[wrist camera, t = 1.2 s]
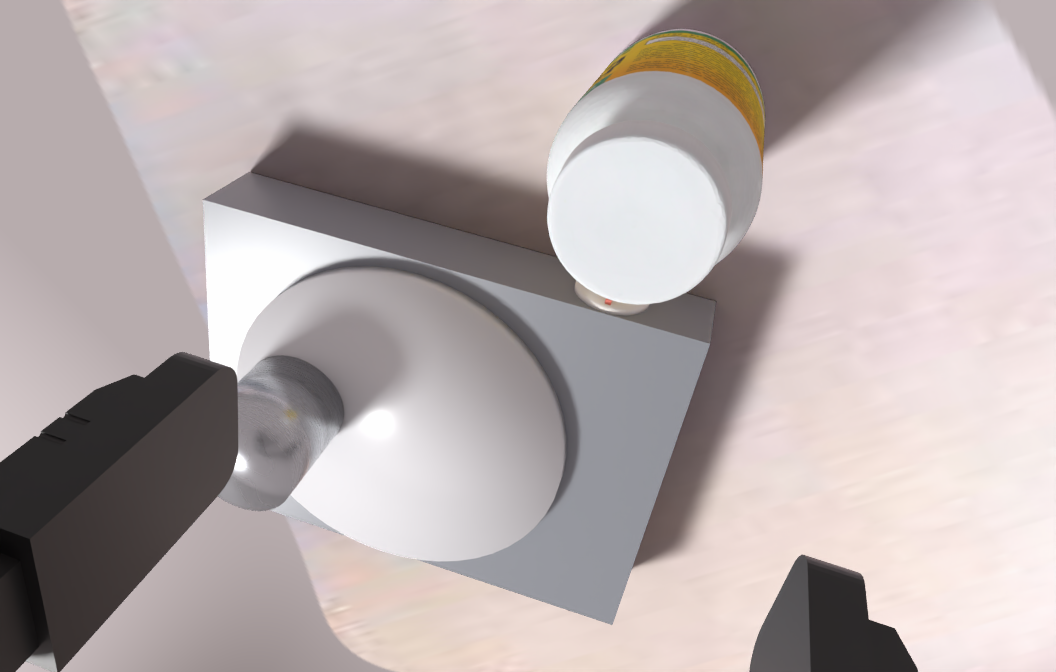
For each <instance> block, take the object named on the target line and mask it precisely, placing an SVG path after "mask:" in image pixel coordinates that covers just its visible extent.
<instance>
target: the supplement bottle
mask: <svg viewBox="0 0 1056 672" xmlns="http://www.w3.org/2000/svg"><path fill="white" fill-rule="evenodd" d="M764 130H765V107H764V100H763V95H762V91H761V88H760V85H759V83H758V80H757V78H756V76H755V74H754V72H753V70H752V68H751V67H750V65H749V64H748V62H747V61H746V60H745V59H744V58H743V56H742V55H741V54H740V53H739V52H738V51H737V50H736V49H735V48H733V47H732V46H731V45H730V44H728V43H727V42H725V41H723V40H722V39H720V38H717V37H715V36H713V35H711V34H708V33H705V32H701V31H697V30H692V29H671V30H666V31H661V32H658V33H655V34H652V35H649V36H647V37H645V38H643V39H641V40H639V41H637V42H635V43H634V44H632V45H630V46H629V47H628V48H626V49H625V50H624V51H622V52H621V53H620V54H619V55H618V56H617V57H616V58H615V59H614V60H613V61H612V62H611V63H610V64H609V66H608V67H607V68H606V69H605V71H604V72H603V73H602V74H601V75H600V77H599V78H598V79H597V80H596V81H595V82H594V84H593V85H592V86H591V87H590V88H589V90H588V91H587V92H586V93H585V94H584V96H583V97H582V98H581V99H580V100H579V101H578V103H577V104H576V105H575V106H574V107H573V108H572V110H571V111H570V112H569V113H568V115H567V116H566V118H565V119H564V121H563V123H562V124H561V126H560V128H559V130H558V132H557V134H556V136H555V138H554V141H553V144H552V147H551V150H550V154H549V159H548V165H547V190H548V196H549V202H548V211H547V223H548V230H549V236H550V239H551V242H552V245H553V248H554V250H555V252H556V255H557V257H558V258H559V260H560V262H561V263H562V265H563V266H564V267H565V269H566V270H567V271H568V272H569V273H570V274H571V276H572V277H573V278H574V279H576V280H577V281H578V282H579V283H580V284H582V285H583V286H584V287H586V288H587V289H589V290H591V291H592V292H594V293H596V294H598V295H600V296H602V297H605V298H607V299H610V300H613V301H617V302H621V303H627V304H636V305H640V304H653V303H660V302H664V301H668V300H670V299H673V298H676V297H678V296H680V295H682V294H684V293H686V292H688V291H689V290H691V289H692V288H694V287H695V286H696V285H697V284H699V283H700V282H701V281H702V280H703V279H704V278H705V277H706V276H707V275H708V274H709V272H710V271H711V270H712V269H713V267H714V266H715V265H716V264H717V263H719V262H720V261H721V260H722V259H724V258H725V257H726V256H727V255H728V254H729V253H730V252H731V251H732V250H733V249H734V248H735V247H736V246H737V245H738V244H739V243H740V241H741V240H742V238H743V237H744V236H745V234H746V232H747V231H748V229H749V227H750V225H751V223H752V221H753V219H754V217H755V214H756V211H757V208H758V205H759V201H760V196H761V190H762V179H763V149H764Z"/></svg>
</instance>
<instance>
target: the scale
mask: <svg viewBox="0 0 1056 672" xmlns="http://www.w3.org/2000/svg"><path fill="white" fill-rule="evenodd" d="M203 214H204V237H205V259H206V282H207V304H208V327H209V348H210V361H213V362H216V363H219V364H222V365H225V366H228V367H231V368H233V369H234V370H235V372H236V375H237V382H239V381H240V380H241V379H242V378H243V377H244V376H245V375H246V374H247V373H248V372H249V371H250V370H251V369H252V368H253V367H254V366H255V365H256V364H257V363H258V362H260V361H261V360H263V359H265V358H267V357H271V356H277V355H285V356H292V357H296V358H299V359H302V360H304V361H306V362H308V363H310V364H312V365H313V366H315V367H317V368H318V369H319V370H321V371H322V372H323V373H324V374H325V375H326V376H327V377H328V378H329V379H330V380H331V381H332V383H333V384H334V385H335V387H336V388H337V390H338V392H339V394H340V396H341V398H342V402H343V405H344V421H343V424H342V427H341V429H340V430H339V432H338V433H337V434H336V436H335V437H334V438H333V440H332V441H331V442H330V443H329V445H328V446H327V447H326V449H325V450H324V451H323V453H322V454H321V455H320V457H319V458H318V459H317V460H316V462H315V463H314V464H313V466H312V467H311V468H310V470H309V471H308V472H307V473H306V475H305V476H304V477H303V479H302V480H301V481H300V483H299V484H298V485H297V487H296V488H295V489H294V490H293V492H292V493H291V494H290V496H289V497H288V498H287V500H286V501H285V502H284V503H283V504H281V505H280V506H278V507H277V508H274V509H271V510H270V511H273V512H276V513H279V514H282V515H285V516H288V517H291V518H294V519H297V520H300V521H303V522H306V523H309V524H312V525H315V526H318V527H321V528H324V529H327V530H330V531H333V532H336V533H339V534H342V535H345V536H347V537H349V538H351V539H353V540H355V541H357V542H359V543H362V544H364V545H367V546H369V547H372V548H374V549H377V550H380V551H383V552H386V553H390V554H393V555H397V556H400V557H406V558H411V559H417V560H420V561H423V562H426V563H429V564H432V565H435V566H438V567H440V568H443V569H446V570H449V571H452V572H455V573H458V574H461V575H464V576H467V577H470V578H473V579H476V580H479V581H482V582H485V583H488V584H491V585H494V586H497V587H500V588H503V589H506V590H509V591H512V592H515V593H518V594H521V595H524V596H527V597H530V598H533V599H536V600H539V601H542V602H545V603H548V604H551V605H554V606H557V607H560V608H563V609H566V610H569V611H572V612H575V613H578V614H581V615H584V616H587V617H590V618H593V619H596V620H599V621H602V622H605V623H608V624H611V625H612V624H613V621H614V619H615V616H616V613H617V610H618V607H619V604H620V601H621V598H622V596H623V593H624V590H625V587H626V584H627V581H628V578H629V575H630V573H631V570H632V567H633V564H634V561H635V558H636V555H637V553H638V550H639V547H640V544H641V541H642V538H643V535H644V532H645V530H646V527H647V524H648V521H649V518H650V515H651V512H652V510H653V507H654V504H655V501H656V498H657V495H658V492H659V489H660V487H661V484H662V481H663V478H664V475H665V472H666V469H667V466H668V464H669V461H670V458H671V455H672V452H673V449H674V446H675V444H676V441H677V438H678V435H679V432H680V429H681V426H682V423H683V421H684V418H685V415H686V412H687V409H688V406H689V403H690V401H691V398H692V395H693V392H694V389H695V386H696V383H697V380H698V378H699V375H700V372H701V369H702V366H703V363H704V360H705V357H706V355H707V352H708V349H709V346H710V342H711V335H712V328H713V321H714V314H715V307H716V301H713V300H709V299H705V298H702V297H698V296H695V295H691V294H687V293H684V294H682V295H680V296H678V297H676V298H673V299H670V300H668V301H664V302H660V303H653V304H640V305H636V304H627V303H621V302H617V301H613V300H610V299H607V298H605V297H602V296H600V295H598V294H596V293H594V292H592V291H591V290H589V289H587V288H586V287H584V286H583V285H582V284H580V283H579V282H578V281H577V280H576V279H574V278H573V277H572V276H571V274H570V273H569V272H568V271H567V270H566V269H565V267H564V266H563V265H562V263H561V262H560V260H559V258H558V257H554V256H550V255H547V254H543V253H540V252H536V251H532V250H529V249H525V248H521V247H518V246H514V245H511V244H507V243H503V242H500V241H496V240H493V239H489V238H485V237H482V236H478V235H475V234H471V233H467V232H464V231H460V230H457V229H453V228H449V227H446V226H442V225H438V224H435V223H431V222H428V221H424V220H420V219H417V218H413V217H410V216H406V215H402V214H399V213H395V212H392V211H388V210H384V209H381V208H377V207H374V206H370V205H366V204H363V203H359V202H356V201H352V200H348V199H345V198H341V197H337V196H334V195H330V194H327V193H323V192H319V191H316V190H312V189H309V188H305V187H301V186H298V185H294V184H291V183H287V182H283V181H280V180H276V179H273V178H269V177H265V176H262V175H258V174H255V173H251V172H248V173H247V174H245V175H243V176H242V177H240V178H238V179H237V180H235V181H233V182H232V183H230V184H228V185H227V186H225V187H223V188H222V189H220V190H218V191H216V192H215V193H213V194H211V195H210V196H208V197H206V198H205V199H203Z"/></svg>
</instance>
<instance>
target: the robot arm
mask: <svg viewBox="0 0 1056 672" xmlns="http://www.w3.org/2000/svg"><path fill="white" fill-rule="evenodd" d="M237 457H238V382H237V375H236V372H235V370H234V369H233V368H231V367H228V366H225V365H222V364H219V363H216V362H213V361H210V360H207V359H204V358H200V357H197V356H194V355H191V354H188V353H185V352H180V353H177V354H174V355H173V356H171V357H170V358H169V359H167V360H166V361H165V362H164V363H162V364H161V365H160V366H159V367H157V368H156V369H155V370H154V371H152V372H151V373H150V374H149V375H148V376H146V377H145V378H143V377H140V376H137V375H131V376H129V377H127V378H124V379H121V380H119V381H117V382H114V383H111V384H109V385H106V386H104V387H101V388H99V389H96V390H94V391H93V392H92V393H90V394H89V395H88V396H87V397H85V398H84V399H83V400H81V401H80V402H79V403H77V404H76V405H75V406H73V407H72V408H71V409H69V410H68V411H67V412H66V414H65V416H64V418H61V417H59V418H58V419H57V420H55V421H54V422H53V423H51V424H50V425H49V426H48V427H46V428H45V429H43V430H42V431H41V434H40V436H39V437H36V436H34V437H33V438H32V439H30V440H29V441H28V442H26V443H25V444H24V445H22V446H21V447H20V448H18V449H17V450H16V451H15V452H13V453H12V454H11V455H9V456H8V457H7V458H6V459H4V460H3V461H2V462H0V672H16V670H17V669H18V668H19V667H20V666H21V665H22V664H23V663H24V662H25V661H26V662H28V663H31V664H33V665H36V666H39V667H41V668H44V669H46V670H49V671H51V672H60V671H61V670H62V669H63V668H64V667H65V665H66V664H67V663H68V662H69V661H70V660H71V659H72V657H74V656H75V654H76V653H77V652H78V651H79V650H80V649H81V648H82V647H83V645H84V644H85V643H86V642H87V641H88V640H89V639H90V638H91V637H92V635H93V634H94V633H95V632H96V631H97V630H98V629H99V628H100V627H101V625H102V624H103V623H104V622H105V621H106V620H107V619H108V618H109V616H110V615H111V614H112V613H113V612H114V611H115V610H116V609H117V608H118V606H119V605H120V604H121V603H122V602H123V601H124V600H125V599H126V598H127V596H128V595H129V594H130V593H131V592H132V591H133V590H134V589H135V588H136V586H137V585H138V584H139V583H140V582H141V581H142V580H143V579H144V578H145V576H146V575H147V574H148V573H149V572H150V571H151V570H152V568H153V567H154V566H155V565H156V564H157V563H158V562H159V560H161V559H162V557H163V556H164V555H165V554H166V553H167V552H168V551H169V550H170V548H171V547H172V546H173V545H174V544H175V543H176V542H177V541H178V540H179V538H180V537H181V536H182V535H183V534H184V533H185V532H186V531H187V530H188V528H189V527H190V526H191V525H192V524H193V523H194V522H195V520H196V519H197V518H198V517H199V516H200V515H201V514H202V513H203V512H204V511H205V509H206V508H207V507H208V506H209V505H210V504H211V503H212V502H213V501H214V499H215V498H216V497H217V496H218V495H219V494H220V493H221V491H222V490H223V489H224V487H225V486H226V484H227V483H228V481H229V479H230V477H231V475H232V473H233V470H234V468H235V465H236V461H237ZM749 672H918V670H917V667H916V665H915V664H914V662H913V660H912V658H911V656H910V655H909V653H908V651H907V649H906V648H905V646H904V644H903V642H902V640H901V639H900V637H899V635H898V633H897V632H896V630H895V628H892V627H889V626H886V625H883V624H880V623H877V622H874V621H871V620H869V619H868V609H867V600H866V591H865V583H864V579H863V576H862V575H861V574H860V573H858V572H855V571H852V570H849V569H846V568H842V567H839V566H836V565H833V564H830V563H827V562H824V561H821V560H818V559H815V558H812V557H809V556H805V555H801V556H799V557H798V558H797V560H796V561H795V563H794V565H793V566H792V568H791V570H790V572H789V574H788V576H787V578H786V580H785V582H784V584H783V586H782V588H781V590H780V592H779V594H778V596H777V598H776V600H775V602H774V604H773V606H772V608H771V610H770V611H769V613H768V615H767V617H766V619H765V621H764V623H763V625H762V627H761V629H760V632H759V634H758V637H757V640H756V643H755V646H754V650H753V654H752V659H751V664H750V671H749Z"/></svg>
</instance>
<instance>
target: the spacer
mask: <svg viewBox="0 0 1056 672" xmlns="http://www.w3.org/2000/svg"><path fill="white" fill-rule="evenodd" d="M343 421H344V405H343V402H342V398H341V396H340V394H339V392H338V390H337V388H336V387H335V385H334V384H333V383H332V381H331V380H330V379H329V378H328V377H327V376H326V375H325V374H324V373H323V372H322V371H321V370H319V369H318V368H317V367H315V366H313V365H312V364H310V363H308V362H306V361H304V360H302V359H299V358H296V357H292V356H285V355H277V356H271V357H267V358H265V359H263V360H261V361H260V362H258V363H257V364H256V365H255V366H254V367H253V368H252V369H251V370H250V371H249V372H248V373H247V374H246V375H245V376H244V377H243V378H242V379H241V380H240V381H239V382H238V457H237V461H236V465H235V468H234V470H233V473H232V475H231V477H230V479H229V481H228V483H227V484H226V486H225V487H224V489H223V490H222V491H221V493H220V494H219V495H218V497H219V498H221V499H222V500H224V501H226V502H228V503H230V504H232V505H234V506H237V507H240V508H243V509H247V510H252V511H266V510H271V509H274V508H277V507H278V506H280V505H281V504H283V503H284V502H285V501H286V500H287V498H288V497H289V496H290V494H291V493H292V492H293V490H294V489H295V488H296V487H297V485H298V484H299V483H300V481H301V480H302V479H303V477H304V476H305V475H306V473H307V472H308V471H309V470H310V468H311V467H312V466H313V464H314V463H315V462H316V460H317V459H318V458H319V457H320V455H321V454H322V453H323V451H324V450H325V449H326V447H327V446H328V445H329V443H330V442H331V441H332V440H333V438H334V437H335V436H336V434H337V433H338V432H339V430H340V429H341V427H342V424H343Z"/></svg>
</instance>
